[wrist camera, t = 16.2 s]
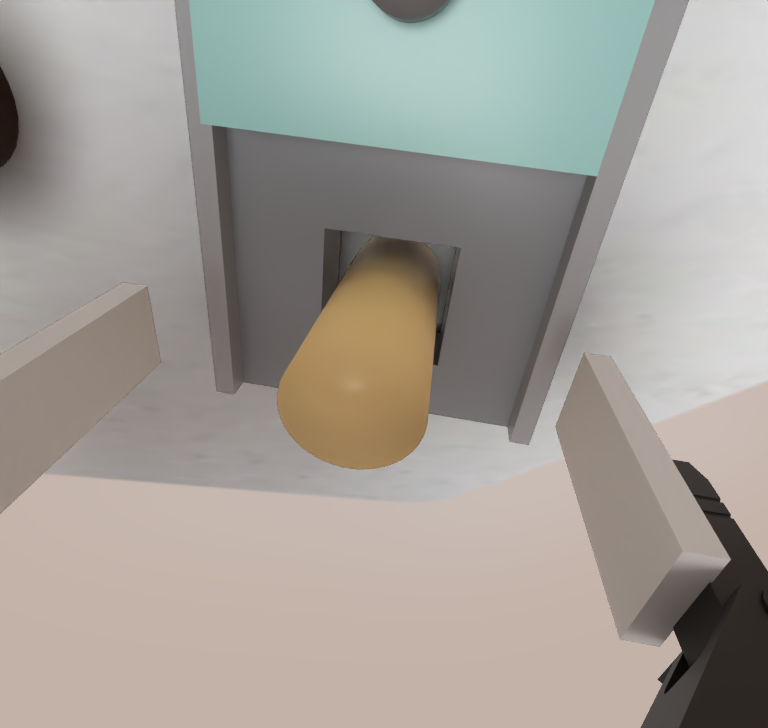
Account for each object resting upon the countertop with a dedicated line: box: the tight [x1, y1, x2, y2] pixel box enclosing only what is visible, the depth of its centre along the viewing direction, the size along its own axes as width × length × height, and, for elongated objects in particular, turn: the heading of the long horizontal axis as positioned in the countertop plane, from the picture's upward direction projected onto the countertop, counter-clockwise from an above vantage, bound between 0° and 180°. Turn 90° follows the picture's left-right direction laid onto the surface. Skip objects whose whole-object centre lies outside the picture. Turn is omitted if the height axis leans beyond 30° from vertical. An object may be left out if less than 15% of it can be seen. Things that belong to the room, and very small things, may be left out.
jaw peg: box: [277, 236, 441, 469], centre depth 16 cm, size 4×4×10 cm
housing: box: [174, 0, 689, 445], centre depth 17 cm, size 14×18×4 cm
